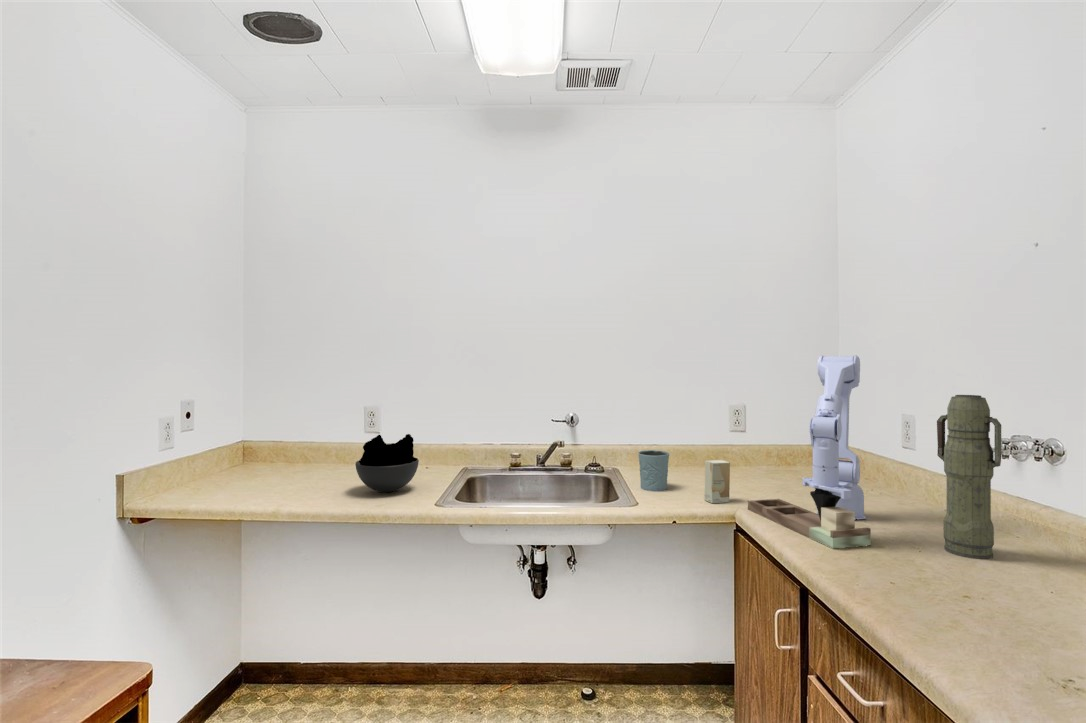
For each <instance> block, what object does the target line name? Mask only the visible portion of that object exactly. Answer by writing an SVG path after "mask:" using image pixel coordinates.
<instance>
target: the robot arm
mask: <svg viewBox="0 0 1086 723" xmlns="http://www.w3.org/2000/svg"><path fill="white" fill-rule="evenodd" d="M816 365H817V366H816V367H817V368H816V369H817V375H818V378H819V381H820V383H821V385H822V386H823V387H824V388H823V389H824V390H823V394H821V395H820V396H819V397H818V399H817V404H816V408H815V415H814V418H812V417H811V418H810V421H809V436H810V446H811V447H812V477H809V476H808V477H802V479H801V480H802V486H803V487H809V488H811V489H814V490H812V491H809V492H810V493H809V494H810V496H811V498H812V500H813V501H814V503H815V506H816V510H817V511H816V514H819V517H820V521H821V507H836V506H840V507H843V508H845V509H848V510H851V511H854V512H855V521H856V519H857V520H867V516H865V494H864V491H863V489H862V487H861V486H860V485H859V483H860V480H861V466H860V458H859V455H858V454H856V453H855V452H854V451H853V450H851V449H850V448H849V433H850V432H849V429H850V428H849V427H850V425H849V424H850V397H851V393H852V390H853V389H855V388H857V387H859V384H860V382H861V380H860V379H861V359H860V357H859V356H858V355H820V356H819V357H818V359H817V364H816Z"/></svg>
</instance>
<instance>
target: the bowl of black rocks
mask: <svg viewBox="0 0 1086 723" xmlns="http://www.w3.org/2000/svg"><path fill="white" fill-rule="evenodd" d="M362 449H363V452H362V456H361V458H360V459H359V460H357V461H355V470H356V474H357V476H358V477H359V479H360V481H361V482H362V483H363V484H364V485H365V486H366V487H368V488H370V489H371V490H373V491H376V492H380V493H390V492H395V491H397V490H400V489H402V488H404V487H406V486H407V485H408V484H409V483H410V481H412V480H413V478H414V477H415V475H416V473H417V470H418V467H419V462H420V461H419V460H420V459H419V458H417V457H414V437H412V434H410V433H407V434H405V436H404V437H402V439H399V440H398V441H396V442H393V443H386V442H385V440H384V439H383V437H382V435H381V434H377V435H376V436H375V437H373V438H371V439H370V440H369V441H366V442H365V443H364V445H362Z"/></svg>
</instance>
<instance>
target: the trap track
mask: <svg viewBox="0 0 1086 723" xmlns="http://www.w3.org/2000/svg"><path fill="white" fill-rule="evenodd" d="M747 510H749V511H751V512H753V513H755V514H757V515H759V516H761V517H763V518H766V519H768V520H770V521H772V522H774V523H777V524H779V525H781V526H782V527H784V528H787V529H789V530H791V531H793V532H795V533H798V534H800V535H802V536H804V537H806V538H809V539H810V538H811V540H813V541H815V542H817V541H818V543H819V542H820V543H819V544H821V543H822V545H823V544H825V545H827V546H826V547H828V546H829V547H828V548H830V547H831V548H830V549H832V548H833V549H832V550H835V549H834V548H839V549H846V548H845V547H851V548H857V547H856V546H863V547H867V546H866V545H871V542H872V541H871V538H872V536H871V535H872V533H871V528H870V527H858V528H857V527H855V529H842V530H830V532H829V531H826V530H824V529H822V528H821V521H820V517H819V514H818V513H817V512H814V511H811V510H808V509H806V508H803V507H800V506H798V505H796V504H793V503H791V502H788V501H786V500H783V499H780V498H769V499H755V500H751V499H750V500H747ZM825 545H824V546H825Z"/></svg>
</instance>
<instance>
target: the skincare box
mask: <svg viewBox="0 0 1086 723" xmlns="http://www.w3.org/2000/svg"><path fill="white" fill-rule="evenodd" d="M704 462H705V463H704V501H707V502H708V503H710V504H720V503H721V504H723V503H730V482H731V480H730V478H731V477H730V476H731V462H729V461H727V460H723V459H718V460H717V459H716V460H705V461H704Z"/></svg>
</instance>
